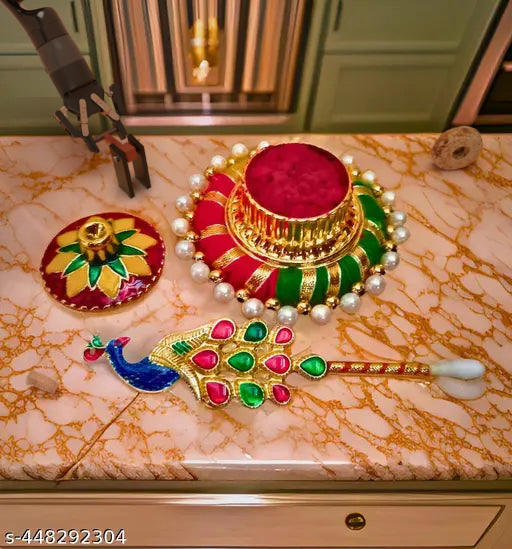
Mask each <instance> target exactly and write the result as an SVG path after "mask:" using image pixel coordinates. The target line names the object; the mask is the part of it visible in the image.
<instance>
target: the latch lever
mask: <svg viewBox="0 0 512 549" xmlns="http://www.w3.org/2000/svg"><path fill="white" fill-rule="evenodd" d="M117 132H118V130H117V128H116V127H113V126H112V127H111V128H109V129H108V130H107V129H106V130H105V131H104V132H101V133H100V134H98V135H96V136H94V137H92V138H93V139H94V141H95V143H96V144H98V143H100V142H102V141H103V140H104V141H106V142H107V143H108V144H109V145H110V144H112V143H114V144H115V145H116V146H117V147H118V148H119V149H120V150H121V151H122V152H123V153H124V154H125V155H126V157H127V162H128V164H129V163H132V161H133V160H135V159H137V158H138V156H137V153H136V150H135V147H134V146H132V145H131V144H129V143H128V141H126V142H124V143H123V142H122V141H119V140H118V139H117V138H116V137H114V136H113V135H115V134H117Z"/></svg>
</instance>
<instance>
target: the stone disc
mask: <svg viewBox="0 0 512 549" xmlns="http://www.w3.org/2000/svg"><path fill="white" fill-rule="evenodd" d="M483 146H484V144H483V137H482V135H481V133H480V131H479V130H478V129H476V128H474V127H472V126H468V125H461V126H460V125H459V126H456V127H452V128H450V129H448V130H445V131H444V132H442V134H440V135H439V137H438V138H437V139H436V140H435V141H434V143H433V146H432V148H431V150H430V156H431V159H432V161H433V162H434V164H435V165H436V166H437V167H438V168H440V169H442V170H446V171H449V170H450V171H451V170H456V169H462V168H465V167H467V166H469V165H471V164H472V163H474V161H476V160H477V159H478V158H479V156H480V154H481V152H482V149H483Z"/></svg>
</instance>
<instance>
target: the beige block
mask: <svg viewBox="0 0 512 549" xmlns="http://www.w3.org/2000/svg"><path fill="white" fill-rule="evenodd" d="M30 385H31V386H34V387H35V388H37V389H40V390H41V391H44V392H47V393H50V394H55V392H56V391H57V390H58V387H59V383H58V382H57V381H56V380H54V379H53V378H52V377H50V376H49V375H46V374H44V373H42V372H40V371H36V370H35V369H30V371H29V373H28V374H27V376H26V378H25V386H30Z"/></svg>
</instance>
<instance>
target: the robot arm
mask: <svg viewBox="0 0 512 549" xmlns="http://www.w3.org/2000/svg"><path fill="white" fill-rule="evenodd" d="M25 1H26V0H0V4H1V5H2V6H3V7H4V8H5V9H6V10H7V11H8V12H9V13H10V15H12V17H13V18H14V19H15V20H16V21H17V22H18V24H19V25H20V26H21V28H22V29H23V32H25V34H26V36H27V37H28V39H29V41H30V43H31V44H32V46H33V48H34V50H35V52H36V53H37V56H38V57H39V60H40V63H41V64H42V66H43V69H44V71H45V73H46V75H48V77H49V78H50V81H51V82H52V84H53V86H54V88H55V89H56V91H57V93H58V94H59V96H60V98H61V99H62V102H63V103H62V104H63V106H62V107H61V108H59V109H56V110H55V111H54V112H53V114H52V116H53V118H54V119H55V121H57V123H58V124H59V125H60V127H62V129H63V130H64V131H65V132H66V134H67V135H68V136H69V137H70V139H72V140H73V139H82V140H83V143H84V144H85V146H86V148H87V150H88V151H89V152H90V153H91V154H92V153H93V154H94V155H98V154H99V153H101V150H100V148H99V146H98V145H97V143H95V141H94V139H93V138H94V137H93V136H92V134H90V132H89V120H88V119H89V118H90V117H92V116H93V115H97V114H98V113H100V114H101V115H102V116H104V117H105V118H106V119H108V120H109V121H110V122H111V126H112V128H113V127H116V128H117V130H118V132H117V133H116V135H117V136H118V138H119V140H120V142H122V141H124V140H127V135H128V132H127V130H126V128H125V126H124V124H123V123H122V120H121V118H122V116H123V115H124V114H126V107H125V105H124V101H123V98H122V96H121V93H120V91H119V87H118V84H116V83H112V84H110V85H107V86H102V85H100V84H99V83H98V81H97V79H96V77H95V75H94V73H93V71H92V70H91V68H90V66H89V64H88V63H87V60H86V59H85V57H84V55H83V53H82V51H81V49H80V48H79V46H78V44H77V43H76V41H75V40H74V39H73V36H71V34H70V32H69V31H68V29H67V27H66V25H65V23H64V21H63V19H62V17H61V16H60V14H59V13H58V11H57V9H56V8H55V7H53V6H51V5H46V6H41V7H37V8H31V9H29V8H26V7H25V6H24V5H23V2H25ZM105 95H106V96H107V97H108V98H110V99H111V102H112V106H113V108H114V110H113V108H111V106H109V105H108V104H107V103H106V102H105V101H104V100H105ZM68 112H69V113H71V114H72V115H75V116H76V124H77V126H78V130H77V129H76V127H75V126H74V125H73V124H72V123H71V121H70V120H69V119H68V118H69V114H68Z"/></svg>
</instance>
